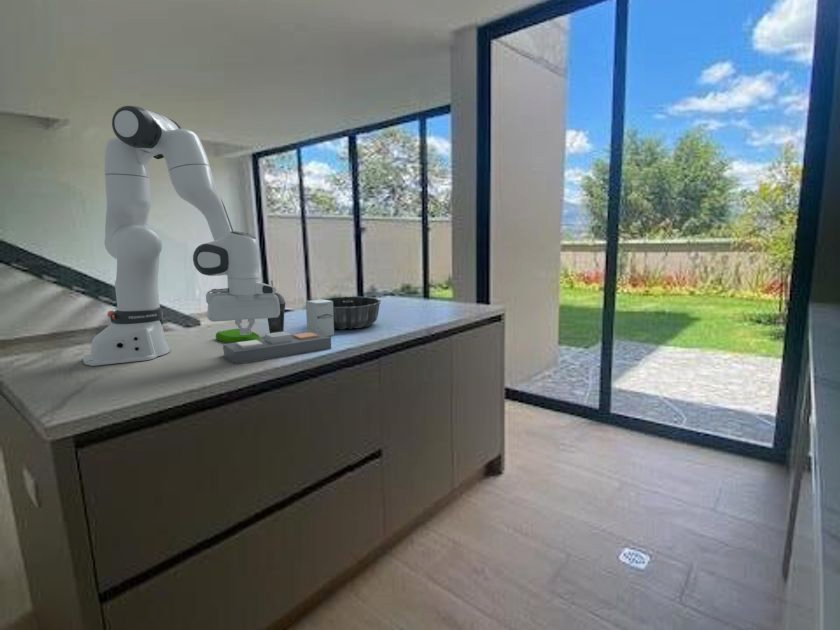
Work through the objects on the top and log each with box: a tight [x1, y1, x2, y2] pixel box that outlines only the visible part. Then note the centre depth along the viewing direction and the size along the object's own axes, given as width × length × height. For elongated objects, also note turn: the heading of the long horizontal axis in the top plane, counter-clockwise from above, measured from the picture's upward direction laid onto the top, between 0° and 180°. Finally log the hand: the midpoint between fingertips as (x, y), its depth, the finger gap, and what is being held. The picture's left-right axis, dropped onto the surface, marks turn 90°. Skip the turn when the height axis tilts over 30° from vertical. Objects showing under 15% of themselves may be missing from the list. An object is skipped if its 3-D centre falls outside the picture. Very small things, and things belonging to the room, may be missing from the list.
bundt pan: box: [321, 296, 382, 330], centre depth 189 cm, size 26×26×10 cm
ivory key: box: [236, 340, 263, 349], centre depth 142 cm, size 6×6×3 cm
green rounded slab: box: [215, 328, 263, 344], centre depth 161 cm, size 3×11×24 cm
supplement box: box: [305, 298, 335, 337], centre depth 171 cm, size 7×7×13 cm
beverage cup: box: [267, 280, 286, 333], centre depth 169 cm, size 7×7×20 cm
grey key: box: [264, 331, 292, 344], centre depth 148 cm, size 6×6×3 cm
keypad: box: [222, 331, 332, 365], centre depth 148 cm, size 30×12×4 cm, turn 128°
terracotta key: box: [292, 332, 318, 340], centre depth 153 cm, size 6×6×3 cm
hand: (245, 334), depth 141 cm, fingers closed
